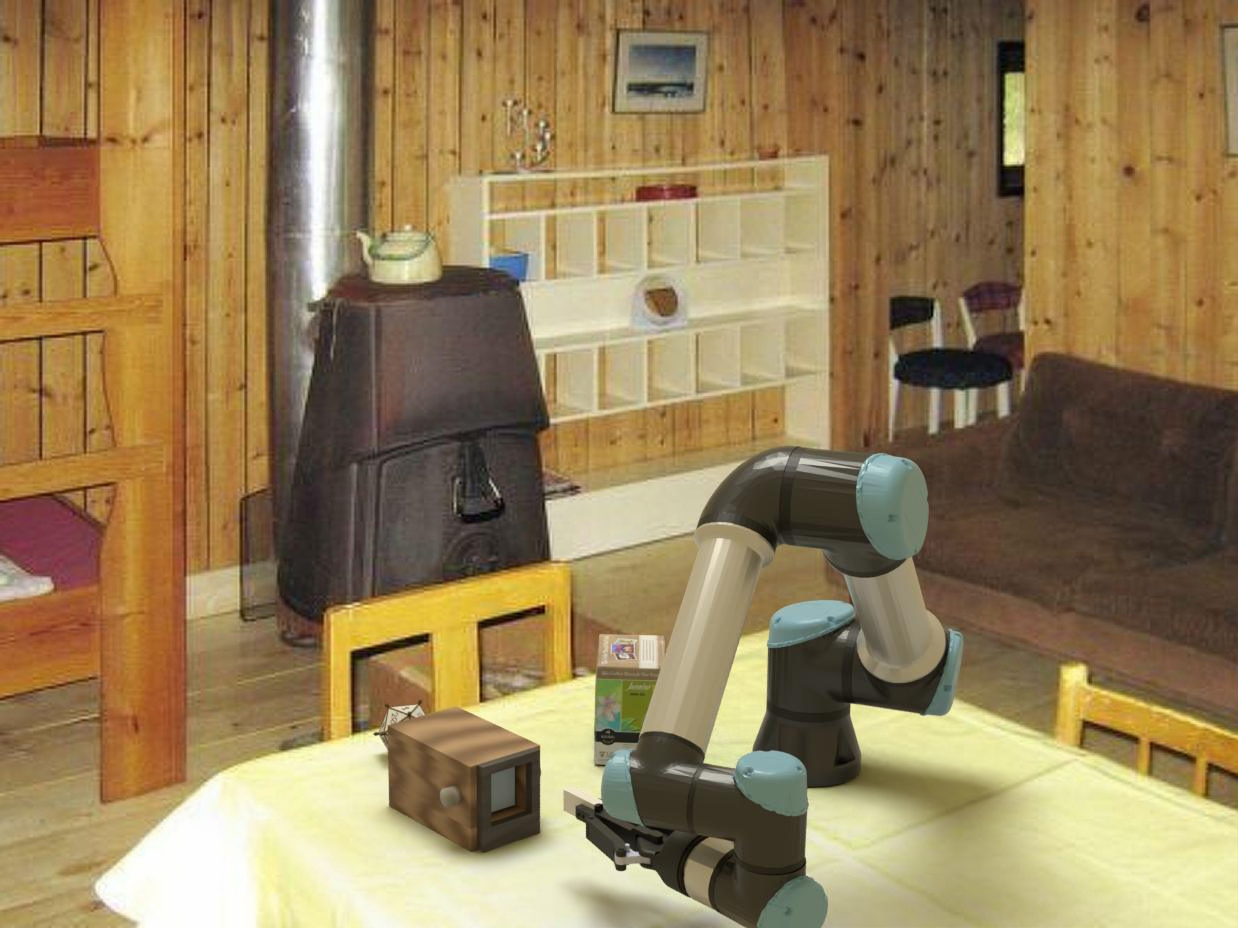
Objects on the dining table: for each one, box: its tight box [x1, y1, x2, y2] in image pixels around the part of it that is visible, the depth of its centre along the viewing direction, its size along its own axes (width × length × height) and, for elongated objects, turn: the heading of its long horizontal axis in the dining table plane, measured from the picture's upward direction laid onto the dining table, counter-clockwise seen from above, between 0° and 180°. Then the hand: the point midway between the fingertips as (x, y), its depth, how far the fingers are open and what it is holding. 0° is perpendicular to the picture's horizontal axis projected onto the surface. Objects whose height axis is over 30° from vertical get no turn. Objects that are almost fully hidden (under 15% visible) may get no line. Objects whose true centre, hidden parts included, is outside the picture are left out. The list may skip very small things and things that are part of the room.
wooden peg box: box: [387, 705, 542, 853], centre depth 228 cm, size 19×14×11 cm
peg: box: [491, 767, 515, 812], centre depth 228 cm, size 15×5×6 cm, turn 42°
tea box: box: [593, 633, 667, 766], centre depth 252 cm, size 15×10×15 cm
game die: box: [372, 698, 426, 751], centre depth 248 cm, size 9×8×10 cm
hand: (568, 798), depth 212 cm, fingers closed
